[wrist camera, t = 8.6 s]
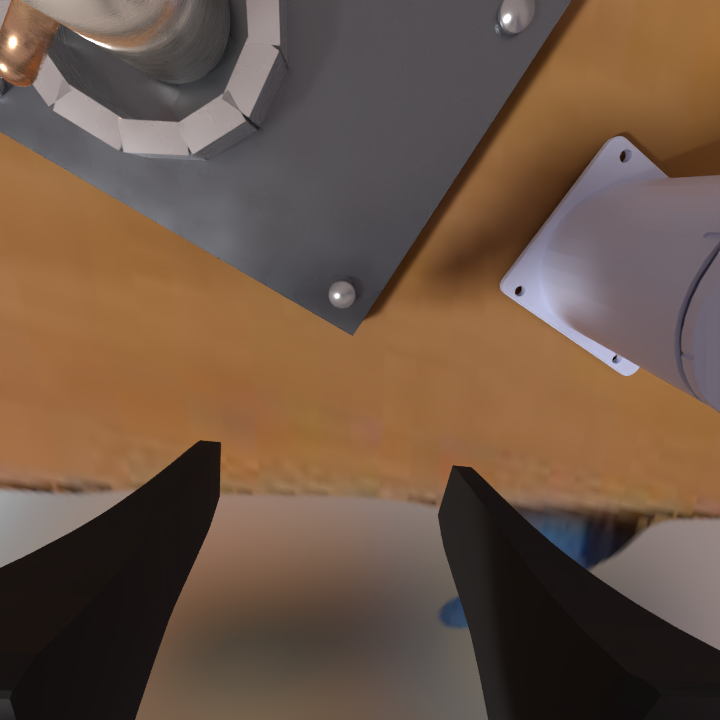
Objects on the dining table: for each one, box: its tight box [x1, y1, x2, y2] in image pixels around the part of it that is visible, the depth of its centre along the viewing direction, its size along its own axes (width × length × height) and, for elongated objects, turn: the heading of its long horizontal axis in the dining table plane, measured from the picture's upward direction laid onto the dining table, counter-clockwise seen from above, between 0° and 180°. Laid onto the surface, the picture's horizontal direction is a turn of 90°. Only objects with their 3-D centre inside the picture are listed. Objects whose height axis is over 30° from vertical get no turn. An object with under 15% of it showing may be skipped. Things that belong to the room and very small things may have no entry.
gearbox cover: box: [0, 0, 572, 336], centre depth 14 cm, size 18×15×4 cm
